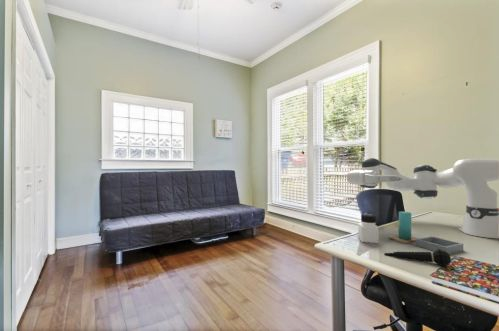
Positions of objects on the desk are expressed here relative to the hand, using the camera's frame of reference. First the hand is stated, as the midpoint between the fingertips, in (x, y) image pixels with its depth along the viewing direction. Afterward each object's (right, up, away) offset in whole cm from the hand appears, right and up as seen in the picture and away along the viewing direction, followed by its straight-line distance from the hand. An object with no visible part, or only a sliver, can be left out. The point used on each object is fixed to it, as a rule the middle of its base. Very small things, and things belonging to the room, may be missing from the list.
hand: (395, 179), depth 126 cm
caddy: (+4, -28, -23) cm, 36 cm away
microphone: (-14, -28, -37) cm, 49 cm away
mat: (-3, -28, -12) cm, 30 cm away
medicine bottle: (-21, -28, -14) cm, 37 cm away
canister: (-3, -27, -12) cm, 30 cm away
